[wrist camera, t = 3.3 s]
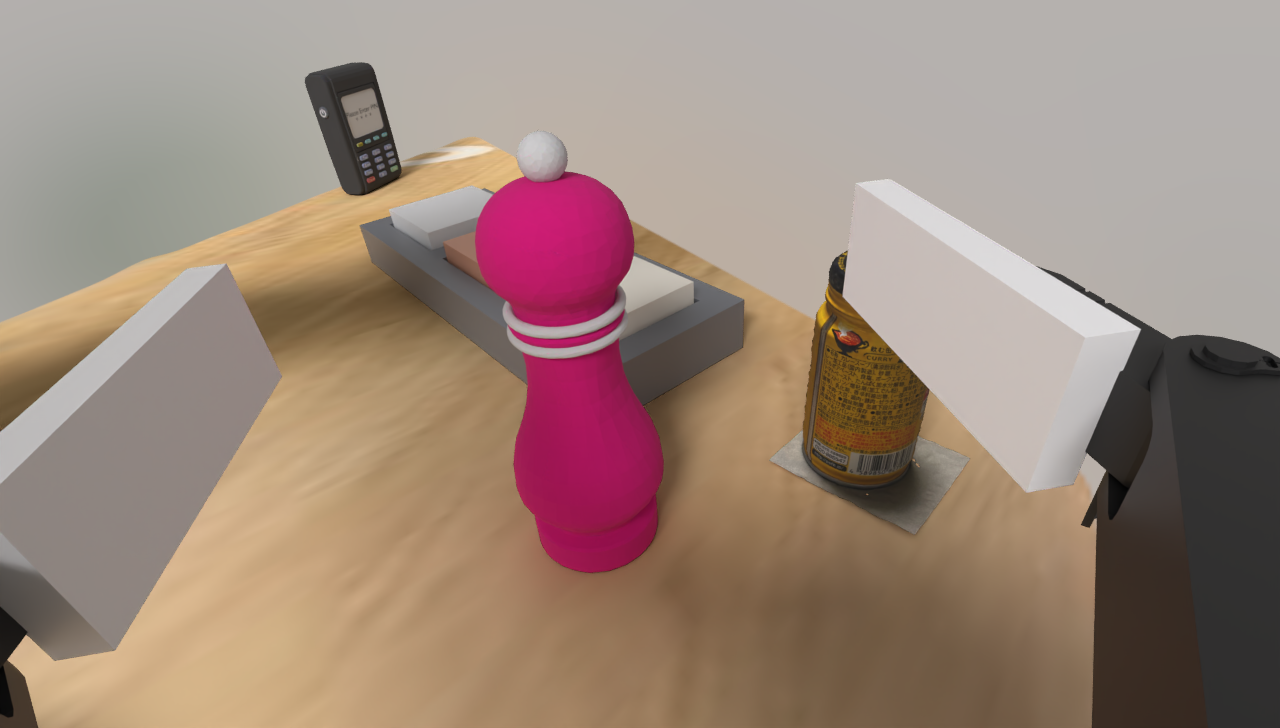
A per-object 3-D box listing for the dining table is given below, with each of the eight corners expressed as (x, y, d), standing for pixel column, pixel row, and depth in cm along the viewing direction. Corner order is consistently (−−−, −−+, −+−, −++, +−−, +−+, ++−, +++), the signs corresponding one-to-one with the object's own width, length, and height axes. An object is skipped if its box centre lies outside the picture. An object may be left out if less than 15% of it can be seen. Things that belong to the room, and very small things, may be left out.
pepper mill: (690, 500, 33) (679, 112, 22) (622, 606, 28) (563, 172, 17) (580, 460, 36) (521, 104, 25) (501, 550, 31) (384, 152, 20)
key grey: (436, 264, 55) (427, 232, 54) (397, 238, 61) (388, 209, 60) (521, 234, 60) (516, 204, 58) (478, 213, 66) (471, 185, 64)
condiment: (832, 402, 40) (857, 225, 33) (969, 460, 34) (1032, 265, 28) (768, 463, 35) (781, 275, 29) (913, 539, 30) (971, 333, 24)
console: (591, 435, 38) (584, 384, 36) (372, 262, 63) (359, 225, 61) (742, 347, 45) (744, 299, 43) (491, 222, 70) (484, 188, 68)
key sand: (595, 370, 40) (590, 330, 38) (522, 321, 46) (515, 286, 44) (694, 319, 44) (693, 281, 43) (616, 281, 50) (613, 247, 49)
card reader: (364, 197, 81) (323, 74, 73) (340, 196, 82) (297, 74, 74) (407, 176, 88) (375, 61, 80) (384, 174, 89) (350, 61, 81)
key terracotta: (502, 308, 48) (495, 273, 46) (451, 274, 53) (442, 241, 52) (594, 270, 52) (591, 237, 50) (538, 242, 58) (532, 211, 56)
